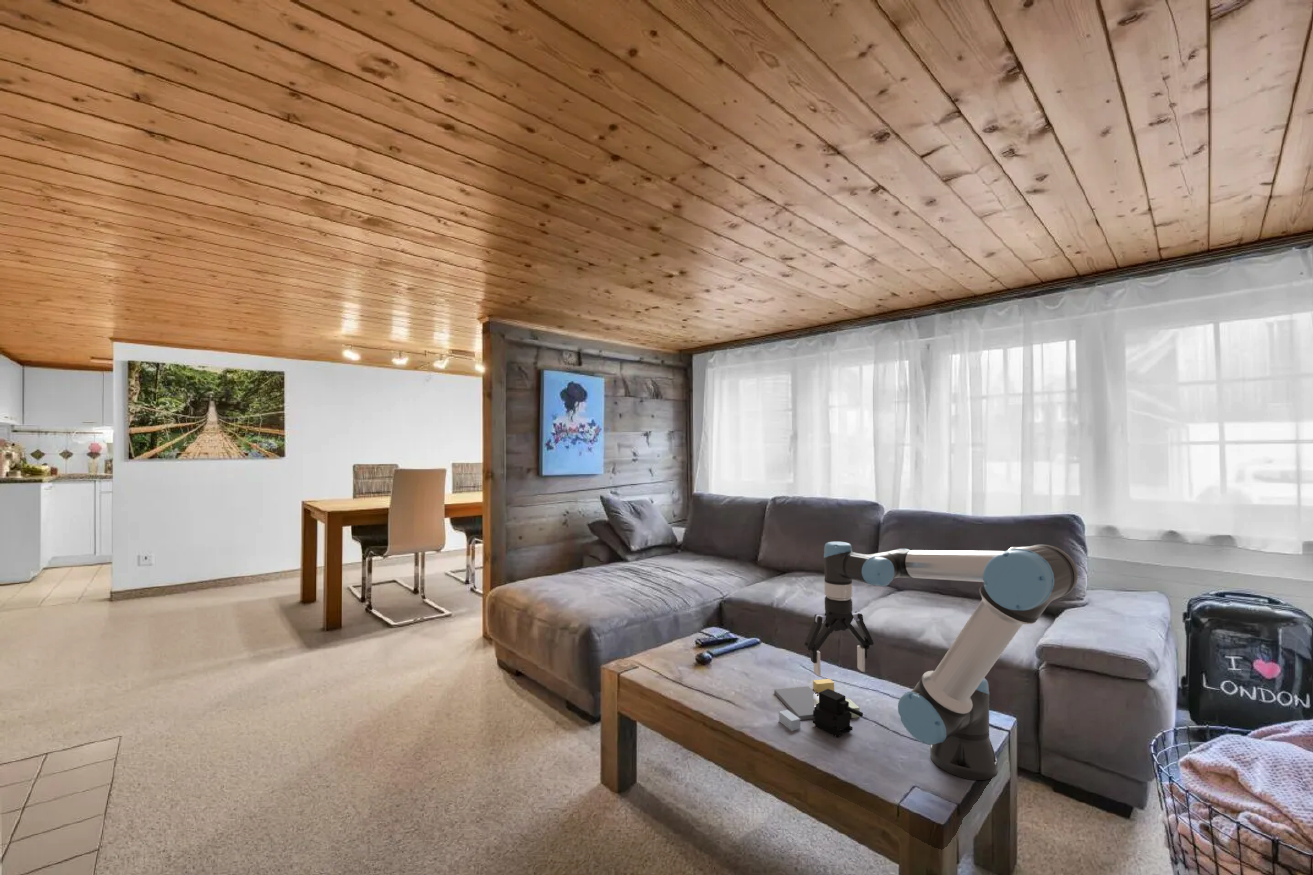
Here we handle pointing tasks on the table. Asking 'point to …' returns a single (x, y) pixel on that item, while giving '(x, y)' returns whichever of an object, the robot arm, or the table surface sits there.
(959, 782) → the table surface
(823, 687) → the mustard brick
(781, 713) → the dusty blue brick
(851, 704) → the sage brick
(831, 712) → the toy
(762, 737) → the table surface
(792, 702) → the felt pad
